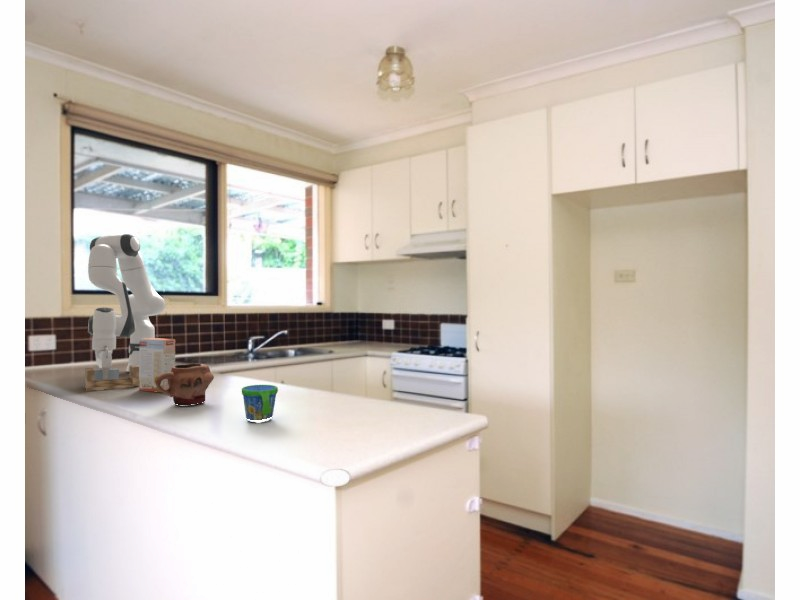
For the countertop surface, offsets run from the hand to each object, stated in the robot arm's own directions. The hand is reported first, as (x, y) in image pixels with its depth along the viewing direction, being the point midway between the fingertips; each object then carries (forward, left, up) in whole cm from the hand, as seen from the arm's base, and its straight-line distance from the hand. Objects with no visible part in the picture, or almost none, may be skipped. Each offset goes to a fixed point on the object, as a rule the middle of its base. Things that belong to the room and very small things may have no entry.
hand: (103, 377), depth 208 cm
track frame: (-2, +13, -3) cm, 13 cm away
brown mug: (-17, +65, -3) cm, 67 cm away
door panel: (-1, 0, -3) cm, 3 cm away
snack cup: (-29, +101, -3) cm, 105 cm away
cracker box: (-15, +31, -3) cm, 35 cm away
